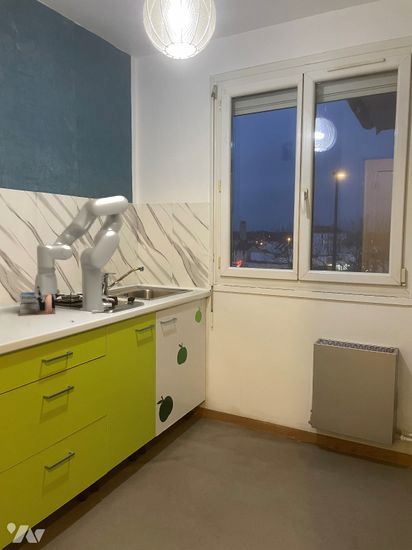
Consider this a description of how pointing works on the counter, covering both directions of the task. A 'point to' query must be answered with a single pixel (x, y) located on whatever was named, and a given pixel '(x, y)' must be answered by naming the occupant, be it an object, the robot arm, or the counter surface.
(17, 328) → the counter surface
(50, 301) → the peg
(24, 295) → the medicine box
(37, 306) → the socket board
